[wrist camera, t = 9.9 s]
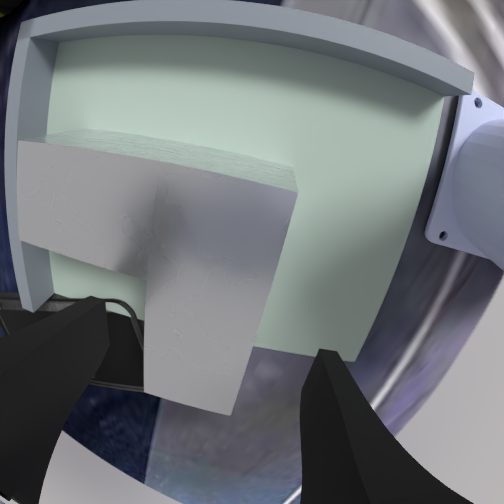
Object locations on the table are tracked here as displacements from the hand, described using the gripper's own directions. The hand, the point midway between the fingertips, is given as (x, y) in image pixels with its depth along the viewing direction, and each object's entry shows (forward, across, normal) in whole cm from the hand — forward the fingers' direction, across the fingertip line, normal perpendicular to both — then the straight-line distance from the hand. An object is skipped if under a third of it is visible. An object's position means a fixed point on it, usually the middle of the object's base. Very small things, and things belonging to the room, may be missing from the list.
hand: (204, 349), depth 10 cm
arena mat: (+7, +2, -3) cm, 8 cm away
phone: (+7, +11, +9) cm, 16 cm away
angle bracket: (+6, +3, -1) cm, 7 cm away
